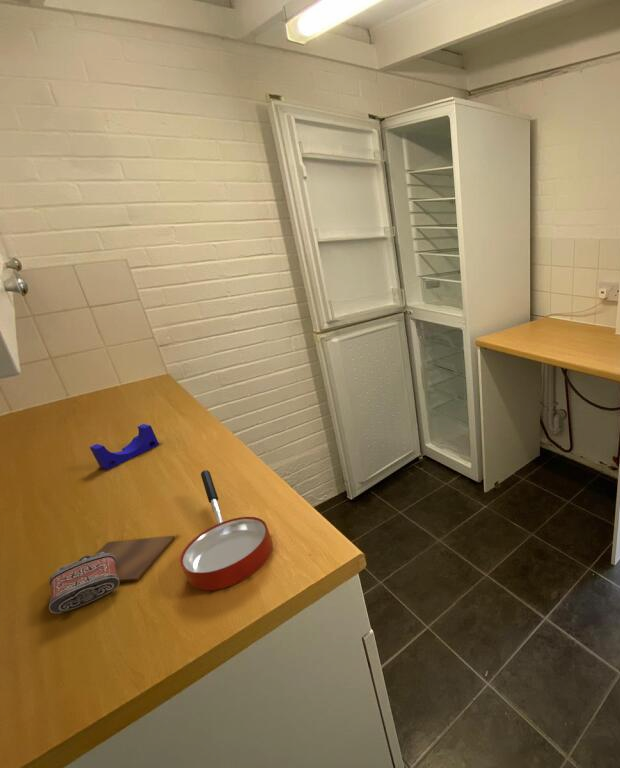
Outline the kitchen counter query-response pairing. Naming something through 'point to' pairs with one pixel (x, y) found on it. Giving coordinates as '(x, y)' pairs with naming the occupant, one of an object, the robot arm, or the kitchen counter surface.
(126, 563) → the plate
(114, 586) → the lighter
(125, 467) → the kitchen counter surface
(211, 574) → the frying pan
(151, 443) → the blue notched block
